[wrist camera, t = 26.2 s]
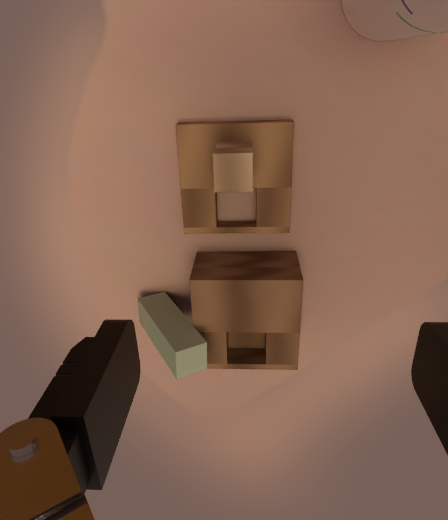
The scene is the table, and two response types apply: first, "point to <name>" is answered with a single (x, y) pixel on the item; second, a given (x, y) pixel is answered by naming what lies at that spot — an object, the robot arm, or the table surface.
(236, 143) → the lid
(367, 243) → the table surface
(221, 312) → the box
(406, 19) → the cylindrical container
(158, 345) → the green square block
